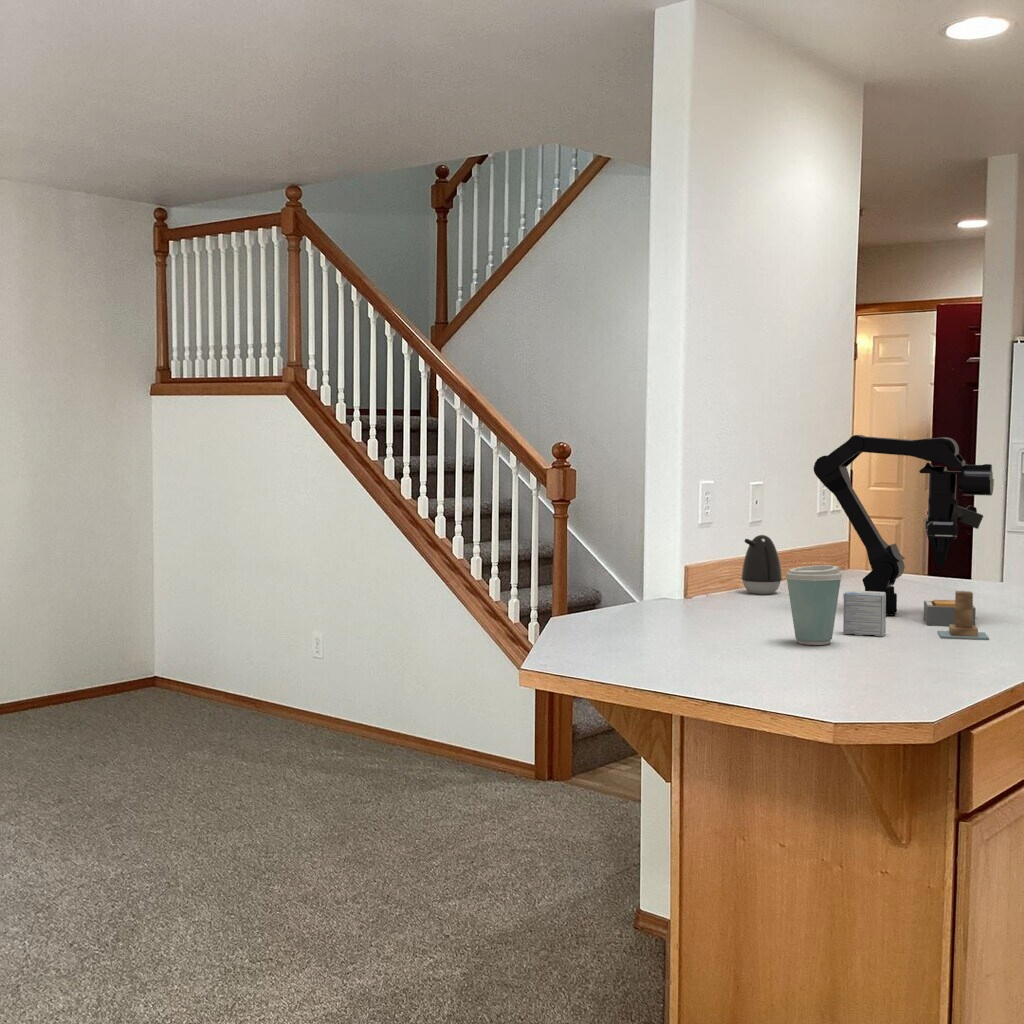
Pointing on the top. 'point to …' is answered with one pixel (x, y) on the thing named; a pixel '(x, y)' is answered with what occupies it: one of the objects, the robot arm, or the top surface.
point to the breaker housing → (941, 614)
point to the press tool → (963, 615)
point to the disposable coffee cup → (814, 602)
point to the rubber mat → (947, 635)
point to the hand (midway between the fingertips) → (940, 564)
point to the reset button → (944, 603)
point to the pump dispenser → (761, 566)
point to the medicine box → (864, 613)
